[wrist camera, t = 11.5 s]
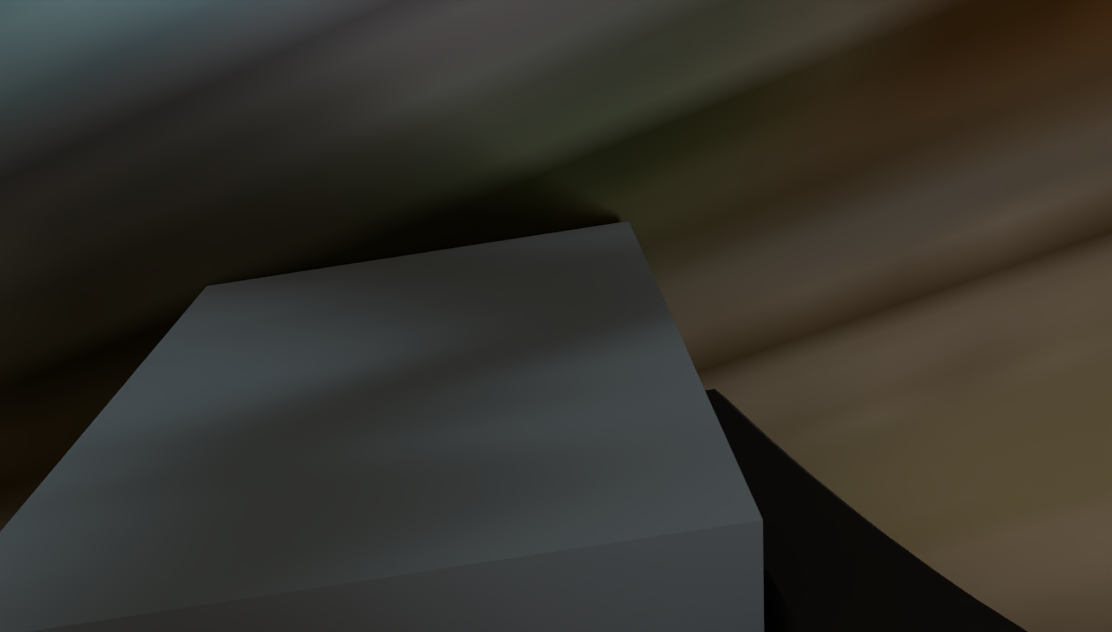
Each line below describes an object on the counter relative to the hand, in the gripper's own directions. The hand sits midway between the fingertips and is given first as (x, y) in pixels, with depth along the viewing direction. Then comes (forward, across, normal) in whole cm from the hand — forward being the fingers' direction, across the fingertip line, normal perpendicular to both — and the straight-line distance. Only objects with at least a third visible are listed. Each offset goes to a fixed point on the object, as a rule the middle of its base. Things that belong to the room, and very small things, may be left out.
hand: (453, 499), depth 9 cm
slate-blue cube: (+1, 0, 0) cm, 1 cm away
